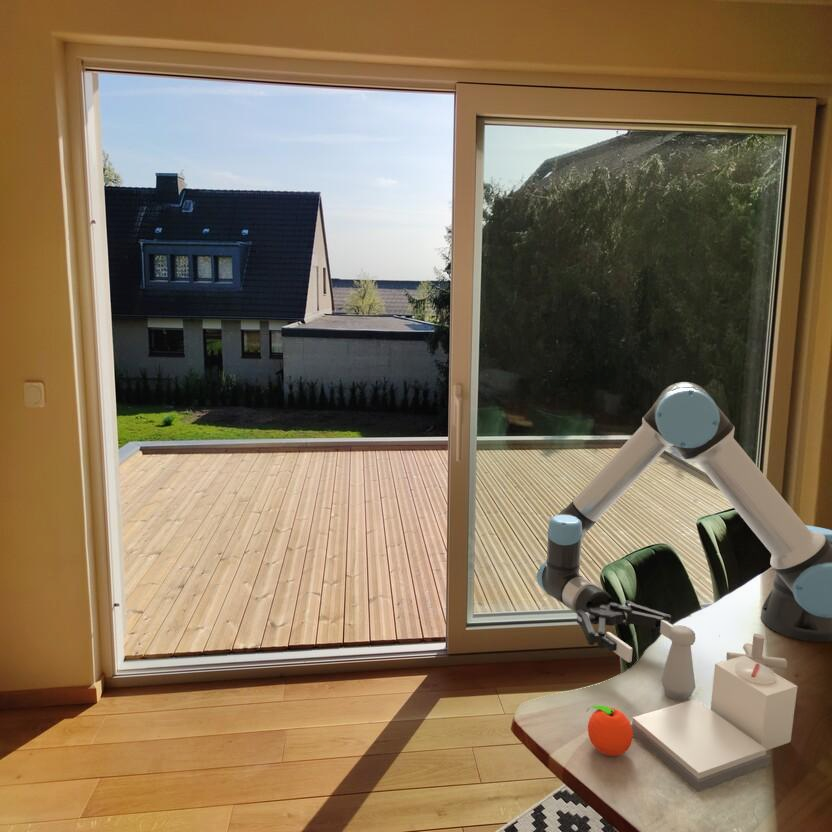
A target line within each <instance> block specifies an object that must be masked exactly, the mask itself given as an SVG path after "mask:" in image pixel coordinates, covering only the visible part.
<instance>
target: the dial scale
mask: <svg viewBox="0 0 832 832" xmlns="http://www.w3.org/2000/svg"><path fill="white" fill-rule="evenodd" d="M712 681H713V682H712V690H711V701H710V708H709V707H708V706H706V705H705V704H704V703H703V702H701V701H700V700H698V699H697V698H693V699H691V700H686V701H682V702H680V703H676V704H672V705H670V706H666V707H663V708H660V709H657V710H656V709H655V710H652V711H650V712H647V713H643V714H640V715H636V716H632V720H629V721H630V723H631V726H632V730H633V737H634V738H636V739H637V740H638V741H639V742H641V744H642V745H644V746H645V747H646V748H647V749H648V750H650V752H652V753H653V754H654V755H655V756H656V757H658V758H659V760H661V761H662V762H664V763H665V764H666V765H667V766H668V767H669V768H670V769H671V770H673V771H674V772H675V773H676V774H677V775H678V776H679V777H681V778H682V779H683V780H684V781H685V782H686V783H688V784H689V785H690V786H691V787H692V788H693V789H695V790H696V791H697V792H700V791H704V790H706V789H707V788H711V787H713V786H716V785H719V784H721V783H724V782H728V781H729V780H731V779H734V778H737V777H740V776H744V775H745V774H748V773H750V772H753V771H756V770H759V769H762V768H764V767H765V768H766V767H767V766H770V763H771V757H772V756H771V755H770V754H769V753H767V751H769V750H772V749H775V748H778V747H780V746H784V745H786V744H789V743H791V740H792V733H793V725H794V716H795V709H796V699H797V691H798V685H796V684H795V683H793V682H791V681H789V680H787V679H785V678H784V677H783V676H781V675H779V674H777V673H775V671H773V670H772V669H771V667H766V666H764V665H762V664H759V663H757V662H755V661H753V660H751V659H750V658H748V657H746V656H741V657H737V658H733V659H730V660H727V659H726V660H723V661H719V662H716V663H714V671H713V680H712Z"/></svg>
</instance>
